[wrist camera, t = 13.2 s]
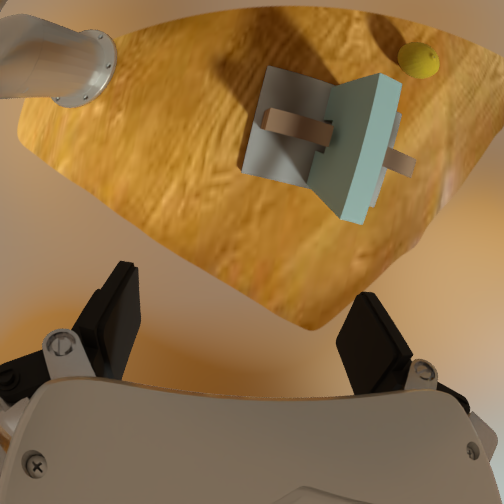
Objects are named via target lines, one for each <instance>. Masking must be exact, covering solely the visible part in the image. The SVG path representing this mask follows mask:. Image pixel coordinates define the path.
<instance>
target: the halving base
mask: <svg viewBox="0 0 504 504" xmlns="http://www.w3.org/2000/svg"><path fill="white" fill-rule="evenodd" d="M332 87H335V85H333V84H330V83H327V82H324V81H321V80H318V79H315V78H312V77H309V76H305V75H302V74H299V73H295V72H292V71H288V70H284V69H280V68H276V67H272V66H267V70H266V73H265V77H264V81H263V85H262V89H261V93H260V97H259V101H258V105H257V109H256V113H255V117H254V121H253V125H252V129H251V133H250V137H249V141H248V145H247V150H246V154H245V158H244V162H243V167H242V171H241V173H245V174H249V175H254V176H258V177H263V178H267V179H272V180H276V181H280V182H284V183H288V184H292V185H296V186H300V187H304V188H308V189H311V188H310V187H309V186H308V185H307V180H308V177H309V173H310V169H311V166H312V162H313V158H314V154H315V151H318V152H322V153H324V152H325V148H326V147H329V143H330V140H331V136H332V133H333V129H334V126H332V123H331V122H328V121H325V120H324V116H325V112H326V108H327V104H328V100H329V96H330V92H331V88H332ZM401 116H402V114H401V113H399V112H397V111H396V115H395V119H394V123H393V127H392V131H391V135H390V138H389V142H388V146H387V150H386V153H385V157H384V160H383V164H382V167H381V170H380V174H379V177H378V180H377V183H376V187H375V190H374V193H373V196H372V199H371V202H370V205H369V206H371V207H374V206H375V203H376V201H377V198H378V195H379V192H380V189H381V186H382V183H383V180H384V176H385V173H386V170H387V168H388V169H390V170H393V171H395V172H398V173H400V174H403V175H405V176H407V177H410V178H411V176H412V173H413V170H414V166H415V163H416V159H414V158H412V157H410V156H408V155H405V154H403V153H401V152H399V151H397V150H394V149H393V146H394V143H395V139H396V135H397V132H398V128H399V124H400V120H401Z"/></svg>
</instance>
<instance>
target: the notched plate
mask: <svg viewBox="0 0 504 504" xmlns="http://www.w3.org/2000/svg"><path fill="white" fill-rule="evenodd" d="M401 87H402V83H400V82H398V81H396V80H394V79H392V78H390V77H388V76H386V75H383V74H381V73H378V74H374V75H370V76H367V77H363V78H360V79H357V80H353V81H350V82H347V83H344V84H341V85H338V86H335V87H332V88H331V92H330V96H329V100H328V104H327V108H326V112H325V116H324V120H325V121H328V122H331V123H332V126H334V129H333V133H332V136H331V140H330V143H329V147H326V148H325V152H324V153H322V152H318V151H315V154H314V158H313V162H312V166H311V169H310V173H309V177H308V180H307V185H308V186H309V187H310V188H311V189H312V190H313V191H314V192H315V193H316V194H317V195H318V196H319V198H320V199H321V200H322V201H323V202H324V203H325V204H326V205H327V206H328V207H329V208H330V209H331V210H332V211H333V212H334V213H335V214H336V215H337V216H338V217H339V219H342V220H346V221H350V222H353V223H357V224H361V225H363V222H364V219H365V216H366V214H367V211H368V208H369V205H370V202H371V199H372V196H373V193H374V190H375V187H376V183H377V180H378V177H379V174H380V170H381V167H382V164H383V160H384V157H385V153H386V150H387V146H388V142H389V138H390V135H391V131H392V127H393V123H394V119H395V115H396V110H397V106H398V101H399V97H400V92H401Z"/></svg>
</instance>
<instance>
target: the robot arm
mask: <svg viewBox="0 0 504 504" xmlns="http://www.w3.org/2000/svg"><path fill="white" fill-rule="evenodd" d="M6 2H7V0H0V11H1V9H2V8H3V6H4V5H5V3H6ZM116 62H117V50H116V46H115V43H114V42H113V40H112V38H111V37H110V36H109V35H107V34H106V33H104V32H101V31H99V30H85V31H82V32H79V33H78V32H75V31H73V30H70V29H68V28H65V27H63V26H60V25H57V24H55V23H52V22H49V21H46V20H43V19H40V18H37V17H34V16H31V15H27V14H16V15H11V16H7V17H4V18H2V19H0V99H8V98H30V97H51V98H52V100H53V101H54V102H55V103H57V104H58V105H60V106H62V107H67V108H76V107H80V106H83V105H85V104H88V103H89V102H91V101H92V100H94V99H95V98H96V97H97V96H98V95H100V94H101V92H102V91H103V90H104V89H105V88H106V86H107V85H108V83H109V81H110V80H111V78H112V75H113V73H114V70H115V67H116ZM110 66H111V67H110ZM87 98H88V99H87ZM140 323H141V313H140V299H139V277H138V267H134V263H131V262H125V261H120V262H119V263H118V264H117V266H116V267H115V269H114V270H113V272H112V273H111V275H110V276H109V278H108V279H107V281H106V282H105V284H104V285H103V287H102V288H101V289H97V290H96V291H95V292H94V294H93V295H92V297H91V298H90V300H89V301H88V303H87V305H86V306H85V308H84V309H83V311H82V313H81V314H80V316H79V318H78V319H77V321H76V323H75V324H74V326H73V328H72V329H71V330H69V329H57V330H54V331H52V332H50V333H49V334H48V335H47V336H46V337H45V338H44V340H43V343H42V348H43V349H42V350H40V351H37V352H34V353H31V354H29V355H26V356H23V357H20V358H17V359H15V360H12V361H9V362H6V363H4V364H2V365H0V504H502V501H501V498H500V494H499V490H498V487H497V484H496V481H495V478H494V474H493V471H492V469H491V466H490V463H489V462H490V460H491V458H492V456H493V453H494V451H495V449H496V446H497V443H498V438H497V435H496V433H495V432H494V431H493V430H492V429H491V428H490V427H489V426H488V425H487V424H486V423H485V422H484V421H483V420H482V419H480V418H479V417H478V416H477V415H476V414H475V413H474V412H473V411H472V412H471V413H469V412H470V406H469V403H468V401H467V399H466V398H465V397H464V396H462V395H460V394H458V393H457V392H455V391H453V390H451V389H450V388H448V387H446V386H444V385H443V384H441V383H439V382H437V380H438V373H437V370H436V369H435V367H434V366H433V365H432V364H431V363H429V362H428V361H426V360H423V359H415V360H414V361H411V357H412V356H413V353H412V351H411V350H410V348H409V346H408V345H407V343H406V341H405V340H404V338H403V337H402V335H401V333H400V332H399V330H398V329H397V327H396V325H395V324H394V322H393V321H392V319H391V318H390V316H389V315H388V313H387V311H386V310H385V308H384V307H383V305H382V304H381V302H380V301H379V299H378V298H377V296H376V295H375V294H374V293H372V292H361V293H360V294H359V295H357V296H356V298H355V300H354V302H353V305H352V307H351V309H350V311H349V313H348V315H347V318H346V320H345V322H344V324H343V326H342V328H341V330H340V332H339V335H338V336H337V339H336V346H337V349H338V352H339V354H340V357H341V359H342V362H343V365H344V367H345V370H346V373H347V376H348V378H349V381H350V384H351V387H352V389H353V392H354V395H350V396H335V397H313V398H312V397H311V398H269V397H268V398H267V397H246V396H230V395H218V394H207V393H199V392H190V391H182V390H176V389H168V388H162V387H155V386H149V385H144V384H139V383H133V382H128V381H122V380H121V379H122V376H123V373H124V370H125V367H126V364H127V361H128V358H129V355H130V352H131V349H132V347H133V344H134V341H135V338H136V335H137V333H138V330H139V327H140Z"/></svg>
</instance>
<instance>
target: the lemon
mask: <svg viewBox="0 0 504 504" xmlns="http://www.w3.org/2000/svg"><path fill="white" fill-rule="evenodd" d="M397 57H398V63H399V65H400V67H401V69H402V70H403V71H404V72H405V73H406V74H408V75H409V76H411V77H414V78H420V79H423V78H428V77H431V76H432V75H434V74H435V73H436V72H437V71H438V69H439V58H438V55H437V53H436V52H435V51H434V50H433V49H432V48H431V47H430V46H428V45H427V44H424V43H420V42H411V43H408V44H405V45H404V46H403V47H401V48H400V50H399V52H398V56H397Z"/></svg>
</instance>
